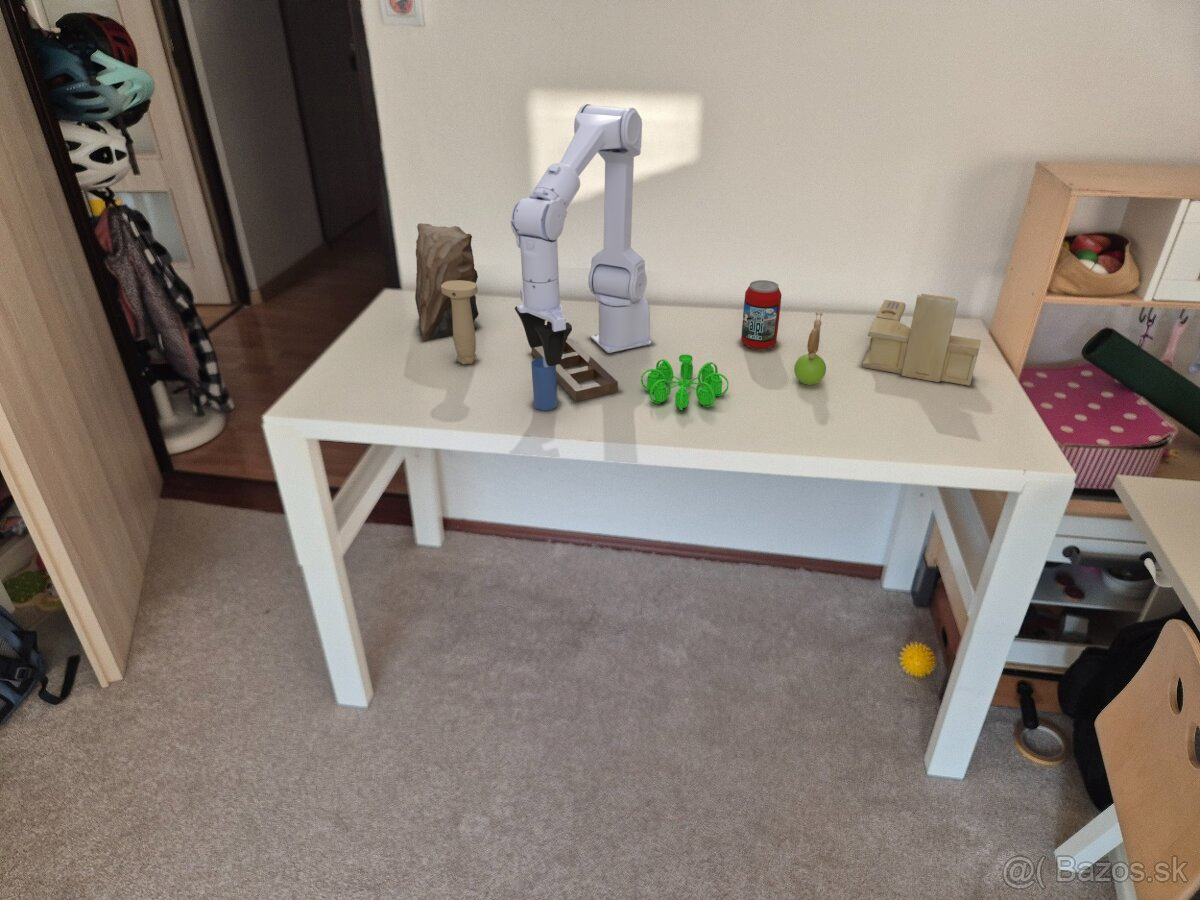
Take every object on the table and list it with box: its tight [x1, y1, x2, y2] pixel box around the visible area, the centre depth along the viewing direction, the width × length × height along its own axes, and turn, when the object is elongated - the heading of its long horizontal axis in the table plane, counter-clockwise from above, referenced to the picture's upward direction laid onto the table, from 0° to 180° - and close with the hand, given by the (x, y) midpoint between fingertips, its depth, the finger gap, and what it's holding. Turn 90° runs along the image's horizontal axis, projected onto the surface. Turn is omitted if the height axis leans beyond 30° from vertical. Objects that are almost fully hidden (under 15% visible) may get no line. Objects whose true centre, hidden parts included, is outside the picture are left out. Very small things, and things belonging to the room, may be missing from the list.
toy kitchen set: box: [862, 293, 982, 386], centre depth 151 cm, size 18×17×15 cm
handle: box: [441, 280, 479, 366], centre depth 153 cm, size 5×6×15 cm
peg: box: [530, 357, 558, 411], centre depth 140 cm, size 4×4×8 cm
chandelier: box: [640, 353, 729, 411], centre depth 143 cm, size 15×15×7 cm
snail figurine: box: [793, 311, 827, 386], centre depth 145 cm, size 5×6×12 cm
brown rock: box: [414, 222, 480, 342], centre depth 165 cm, size 13×13×20 cm
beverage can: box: [740, 279, 782, 351], centre depth 159 cm, size 7×7×12 cm
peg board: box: [531, 336, 619, 403], centre depth 152 cm, size 8×21×2 cm, turn 25°
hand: (544, 355), depth 138 cm, fingers open, 7 cm apart
